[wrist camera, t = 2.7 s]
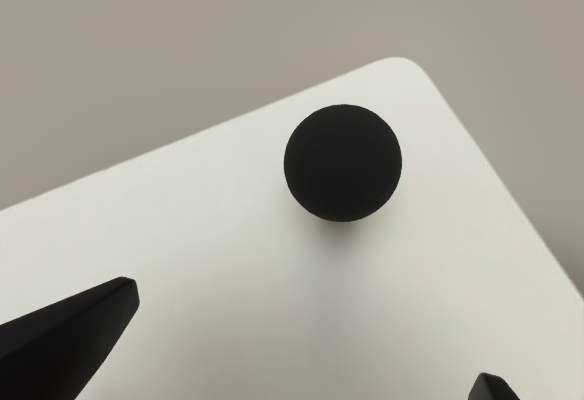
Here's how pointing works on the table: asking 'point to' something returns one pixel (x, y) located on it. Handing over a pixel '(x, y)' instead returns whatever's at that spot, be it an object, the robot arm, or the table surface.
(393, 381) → the table surface
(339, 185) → the light bulb
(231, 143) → the table surface
